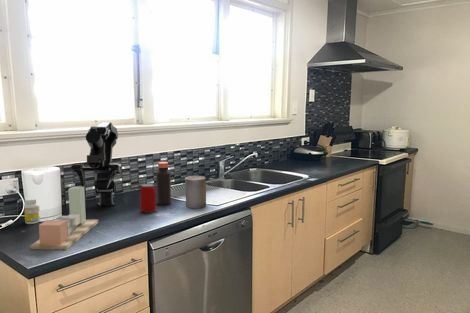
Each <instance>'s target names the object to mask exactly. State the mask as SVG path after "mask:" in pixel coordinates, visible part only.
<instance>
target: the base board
mask: <svg viewBox="0 0 470 313" xmlns="http://www.w3.org/2000/svg"><path fill="white" fill-rule="evenodd" d="M54 220H57V221H67V234H68V239H67V240H66V241H65V242H63V243H62V244H40V238H38V240H37V241H35V242H34V243H31V244H30V246H29V247H30V248H29V249H30V250H54V251H55V249H57V250H58V249H59V250H60V251H61V250H62V251H63V249H64V250H65V251H66V249H67V250H68V249H69V248H70V247H71V246H73V245H74V244H75V243H76V242H77V241H79V240H80V239H81V238H82V237H83V236H85V234H86V233H89V231H91V230H92V229H93V228H94V227H96V225H97V224H99V219H86V221H85V222H84V223H83V224H78V225H77V226H76V216H68V215H59V216H58V217H56V218H55V219H54ZM59 250H58V251H59Z"/></svg>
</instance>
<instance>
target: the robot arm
mask: <svg viewBox="0 0 470 313" xmlns="http://www.w3.org/2000/svg"><path fill="white" fill-rule="evenodd" d="M118 138H119V133H118V128H117V127H116V126H114V125H113V123H112V122H111V121H101V122H100V123H99V124H98V125H91V126H90V128H89V129H88V131H87V133H86V134H85V140H86V142H87V144H88V146H89V148H90V151H89V154H87V155H86V164H87V165H88V166H83V163H73V164H71V166H70V171H71V173H72V174H73V175H75V176H76V177H78V178H79V182H80V185H81V186H80V187H84V188H85V174H84V173H85V172H97V174H96V180H94V188H95V189H94V190H95V194H99V202H97V204H98V205H99V206H100V207H101V208H103V207H110V206H115V205H116V203H114V202H113V201H114V200H113V194H115V193H116V192H117V190H118V189H117V183H116V181H115V179H114V178H115V176H118V175H119V174H121V166H120V163H118V162H116V163H115V162H114V163H112V159H113V158H112V157H113V148H114V147H115V145H116V144H117V140H118Z"/></svg>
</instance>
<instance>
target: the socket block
mask: <svg viewBox="0 0 470 313" xmlns="http://www.w3.org/2000/svg"><path fill="white" fill-rule="evenodd" d="M38 232H39V233H38V234H39V239H40V244H62V243H63V242H65V241H66V240H67V239H68V234H67V221H57V220H55V219H53V220H49V219H48V220H45V221H43V222H42V223H39V224H38Z"/></svg>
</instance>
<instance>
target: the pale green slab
mask: <svg viewBox="0 0 470 313" xmlns="http://www.w3.org/2000/svg"><path fill="white" fill-rule="evenodd" d="M67 192H68V206H69V207H68V208H69V214H68V215H67V216H76V226H77V225H78V224H83V223H84V222H85V221H86V199H85V198H86V197H85V196H86V195H85V186H84V187H82V186H71V187H70V188H68V190H67Z"/></svg>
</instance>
